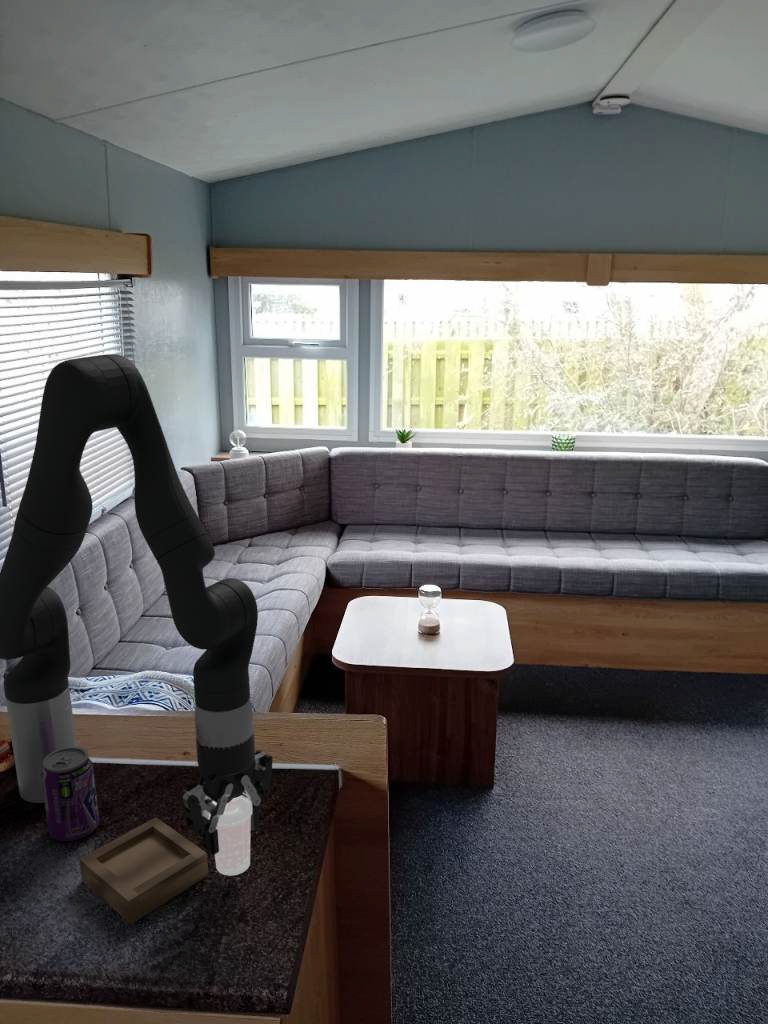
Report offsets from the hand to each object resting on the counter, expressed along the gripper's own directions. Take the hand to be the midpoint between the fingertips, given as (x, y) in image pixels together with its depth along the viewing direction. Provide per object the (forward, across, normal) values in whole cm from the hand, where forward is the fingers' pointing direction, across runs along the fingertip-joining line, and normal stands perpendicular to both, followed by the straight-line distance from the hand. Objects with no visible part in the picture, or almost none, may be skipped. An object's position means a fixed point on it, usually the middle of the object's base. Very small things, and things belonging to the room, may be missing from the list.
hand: (231, 838), depth 116 cm
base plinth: (+5, +9, -8) cm, 13 cm away
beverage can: (+5, +10, -25) cm, 27 cm away
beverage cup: (+4, 0, 0) cm, 4 cm away
